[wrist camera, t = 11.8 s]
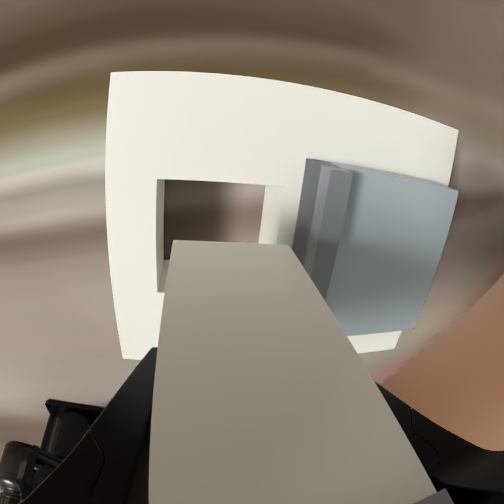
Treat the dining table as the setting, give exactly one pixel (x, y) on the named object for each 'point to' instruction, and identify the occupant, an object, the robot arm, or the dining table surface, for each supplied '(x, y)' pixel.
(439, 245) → the panel
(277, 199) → the socket block
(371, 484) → the peg
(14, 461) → the ink bottle
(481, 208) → the dining table surface
